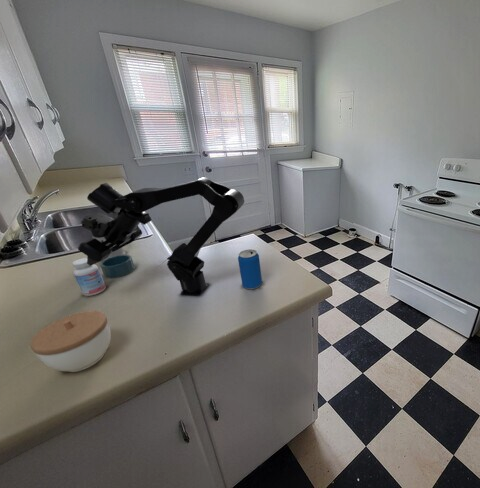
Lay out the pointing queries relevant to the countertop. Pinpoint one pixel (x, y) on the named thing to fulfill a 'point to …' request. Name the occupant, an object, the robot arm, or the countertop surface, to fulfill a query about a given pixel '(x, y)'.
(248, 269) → the beverage can
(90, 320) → the lidded bowl
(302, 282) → the countertop surface
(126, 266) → the bottle holder
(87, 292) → the pill bottle
